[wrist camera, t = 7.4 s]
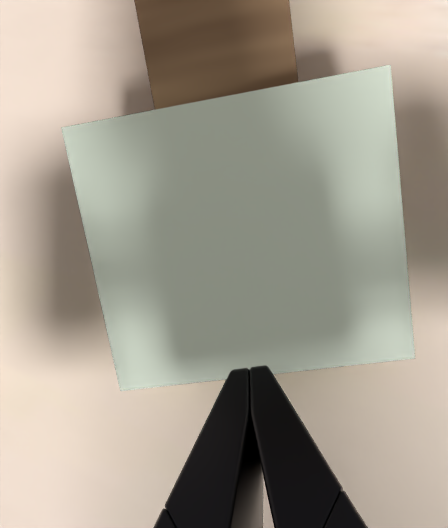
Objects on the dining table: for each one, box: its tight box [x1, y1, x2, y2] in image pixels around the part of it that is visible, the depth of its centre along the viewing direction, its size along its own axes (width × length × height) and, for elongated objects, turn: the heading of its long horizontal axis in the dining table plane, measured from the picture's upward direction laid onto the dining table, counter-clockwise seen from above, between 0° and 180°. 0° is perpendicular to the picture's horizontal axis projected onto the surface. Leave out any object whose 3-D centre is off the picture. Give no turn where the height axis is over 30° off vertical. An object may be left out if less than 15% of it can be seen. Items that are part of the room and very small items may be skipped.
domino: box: [134, 0, 298, 110], centre depth 15 cm, size 2×5×9 cm
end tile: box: [61, 65, 415, 391], centre depth 14 cm, size 2×10×9 cm
